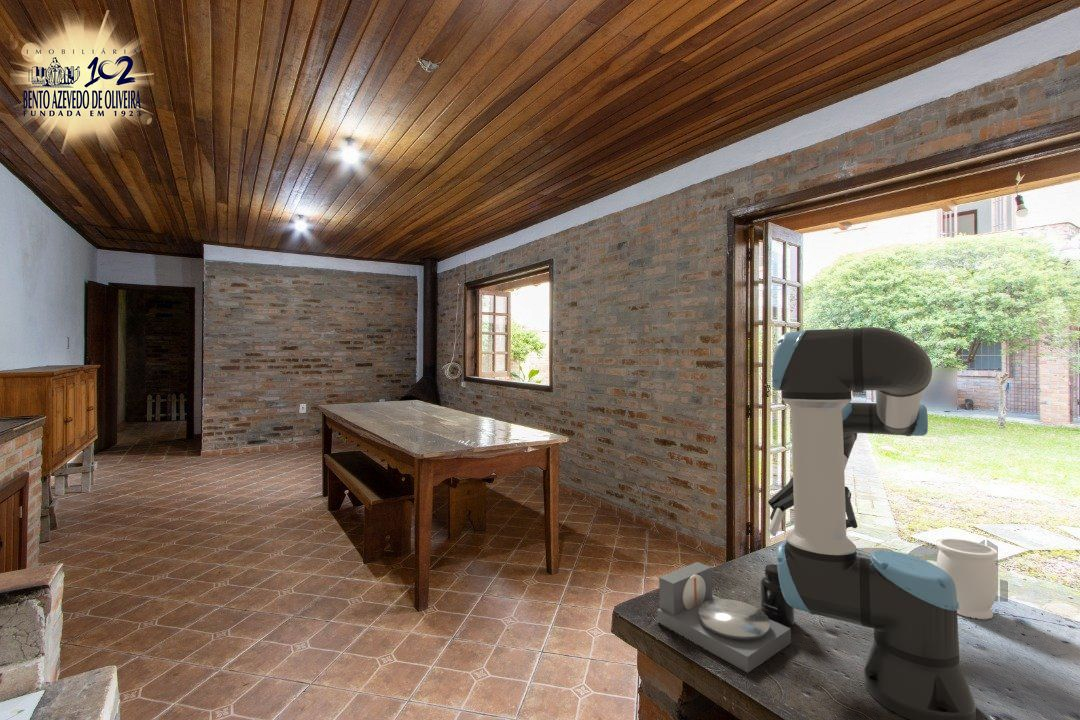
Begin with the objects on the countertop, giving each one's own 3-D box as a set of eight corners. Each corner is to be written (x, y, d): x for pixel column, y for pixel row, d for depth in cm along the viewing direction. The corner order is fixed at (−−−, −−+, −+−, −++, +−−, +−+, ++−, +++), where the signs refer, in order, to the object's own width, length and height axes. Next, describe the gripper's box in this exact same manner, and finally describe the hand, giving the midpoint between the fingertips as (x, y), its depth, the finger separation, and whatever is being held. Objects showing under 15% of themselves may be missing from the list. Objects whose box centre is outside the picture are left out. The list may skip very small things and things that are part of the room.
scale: (791, 643, 98) (789, 594, 98) (747, 672, 89) (746, 619, 89) (700, 601, 116) (699, 560, 116) (657, 622, 107) (656, 578, 107)
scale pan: (783, 624, 98) (783, 618, 98) (745, 648, 90) (745, 641, 90) (723, 598, 110) (723, 593, 110) (685, 617, 102) (685, 612, 102)
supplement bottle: (763, 627, 104) (762, 572, 104) (758, 611, 111) (757, 560, 111) (798, 631, 102) (796, 576, 102) (791, 615, 109) (789, 563, 109)
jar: (974, 600, 114) (972, 538, 114) (1013, 623, 103) (1010, 555, 104) (927, 599, 115) (925, 537, 115) (960, 622, 105) (958, 554, 105)
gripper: (887, 487, 113) (863, 566, 104) (783, 469, 133) (756, 534, 125) (877, 468, 110) (852, 548, 101) (773, 453, 130) (744, 518, 122)
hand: (799, 540), depth 113 cm, fingers open, 13 cm apart
